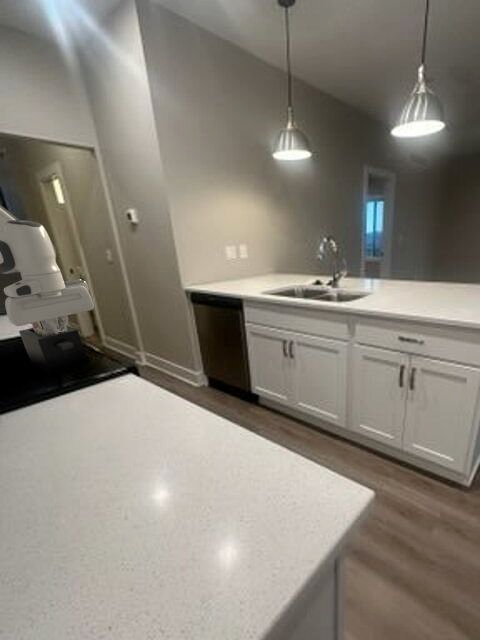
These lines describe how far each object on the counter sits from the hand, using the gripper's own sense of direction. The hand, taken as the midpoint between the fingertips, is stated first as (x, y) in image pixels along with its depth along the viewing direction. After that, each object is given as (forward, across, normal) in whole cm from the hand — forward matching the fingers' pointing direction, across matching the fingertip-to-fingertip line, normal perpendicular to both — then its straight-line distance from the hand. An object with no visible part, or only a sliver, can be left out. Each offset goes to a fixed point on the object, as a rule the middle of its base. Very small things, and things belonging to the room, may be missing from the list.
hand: (61, 332), depth 99 cm
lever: (+5, 0, -1) cm, 5 cm away
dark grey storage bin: (+12, 0, -12) cm, 17 cm away
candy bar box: (+10, 0, -12) cm, 15 cm away
